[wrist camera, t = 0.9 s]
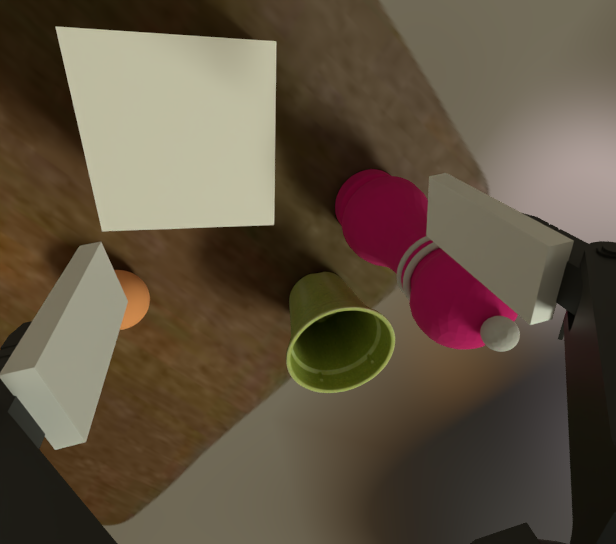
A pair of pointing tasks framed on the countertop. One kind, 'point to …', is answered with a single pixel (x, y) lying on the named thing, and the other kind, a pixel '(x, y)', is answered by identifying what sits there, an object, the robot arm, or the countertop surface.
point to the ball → (133, 298)
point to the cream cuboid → (174, 127)
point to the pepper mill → (421, 263)
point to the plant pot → (334, 336)
